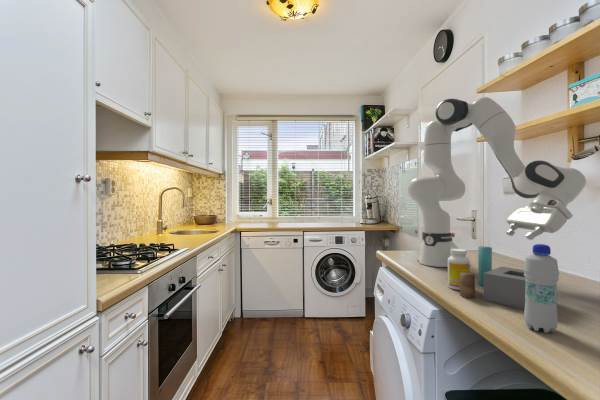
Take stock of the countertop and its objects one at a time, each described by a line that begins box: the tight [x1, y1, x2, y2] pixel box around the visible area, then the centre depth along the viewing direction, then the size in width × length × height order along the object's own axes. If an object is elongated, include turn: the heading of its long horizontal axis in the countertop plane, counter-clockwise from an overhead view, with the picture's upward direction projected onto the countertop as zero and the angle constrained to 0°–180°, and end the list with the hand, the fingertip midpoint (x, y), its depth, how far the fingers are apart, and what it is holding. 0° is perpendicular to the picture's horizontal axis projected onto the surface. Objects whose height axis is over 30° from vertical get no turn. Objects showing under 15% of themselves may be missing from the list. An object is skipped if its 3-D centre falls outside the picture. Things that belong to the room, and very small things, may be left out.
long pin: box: [477, 246, 493, 287], centre depth 112 cm, size 4×4×13 cm
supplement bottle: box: [447, 248, 471, 291], centre depth 109 cm, size 7×7×13 cm
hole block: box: [482, 266, 526, 310], centre depth 96 cm, size 13×13×8 cm
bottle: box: [522, 243, 560, 334], centre depth 76 cm, size 7×7×20 cm
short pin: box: [459, 272, 476, 299], centre depth 100 cm, size 4×4×7 cm
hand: (518, 236), depth 112 cm, fingers open, 8 cm apart
